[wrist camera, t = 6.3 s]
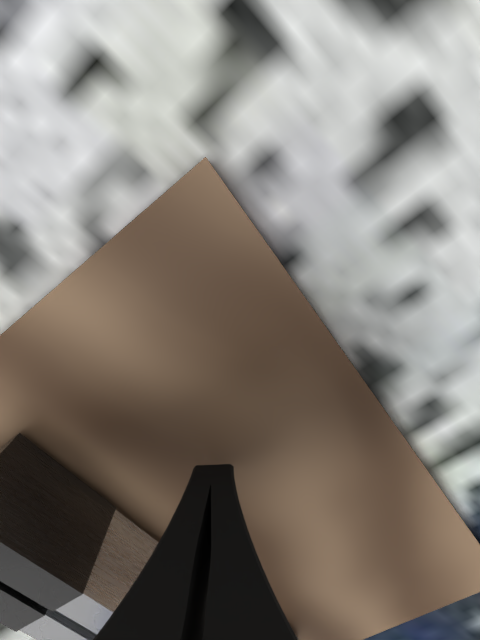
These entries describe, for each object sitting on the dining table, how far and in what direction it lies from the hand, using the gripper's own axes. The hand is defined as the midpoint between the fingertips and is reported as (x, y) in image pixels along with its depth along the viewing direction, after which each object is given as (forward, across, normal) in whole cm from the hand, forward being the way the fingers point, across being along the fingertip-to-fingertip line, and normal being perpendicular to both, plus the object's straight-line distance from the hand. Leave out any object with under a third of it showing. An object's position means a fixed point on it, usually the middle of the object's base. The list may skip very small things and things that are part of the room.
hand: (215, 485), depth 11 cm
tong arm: (+1, +2, +6) cm, 7 cm away
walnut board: (+3, 0, +4) cm, 5 cm away
